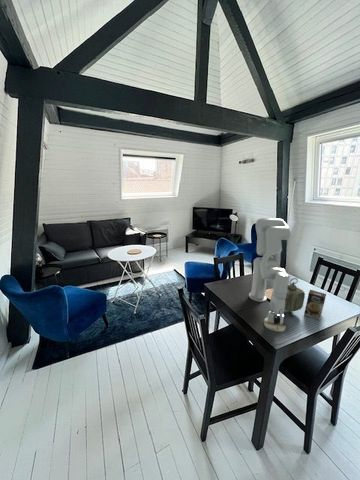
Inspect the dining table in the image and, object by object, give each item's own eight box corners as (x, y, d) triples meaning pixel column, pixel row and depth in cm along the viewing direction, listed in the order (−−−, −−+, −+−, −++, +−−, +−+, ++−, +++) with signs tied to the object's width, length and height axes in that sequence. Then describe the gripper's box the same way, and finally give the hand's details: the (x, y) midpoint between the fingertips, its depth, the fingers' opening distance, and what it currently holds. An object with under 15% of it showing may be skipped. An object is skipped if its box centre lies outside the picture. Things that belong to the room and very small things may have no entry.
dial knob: (267, 322, 125) (269, 313, 123) (267, 319, 127) (268, 311, 125) (285, 325, 122) (286, 316, 120) (284, 323, 124) (286, 314, 122)
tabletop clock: (290, 307, 144) (296, 274, 138) (302, 314, 136) (309, 279, 130) (274, 311, 139) (280, 277, 132) (286, 319, 131) (292, 283, 124)
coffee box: (303, 314, 136) (308, 292, 132) (305, 310, 141) (309, 289, 137) (320, 320, 130) (325, 297, 126) (321, 315, 135) (326, 293, 131)
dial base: (261, 318, 131) (261, 316, 131) (280, 319, 130) (281, 317, 130) (267, 331, 120) (267, 328, 119) (288, 332, 119) (289, 330, 118)
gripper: (267, 286, 128) (264, 312, 133) (278, 300, 112) (273, 329, 116) (280, 286, 127) (276, 312, 132) (292, 301, 111) (287, 330, 116)
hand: (275, 320), depth 124 cm, fingers open, 4 cm apart
